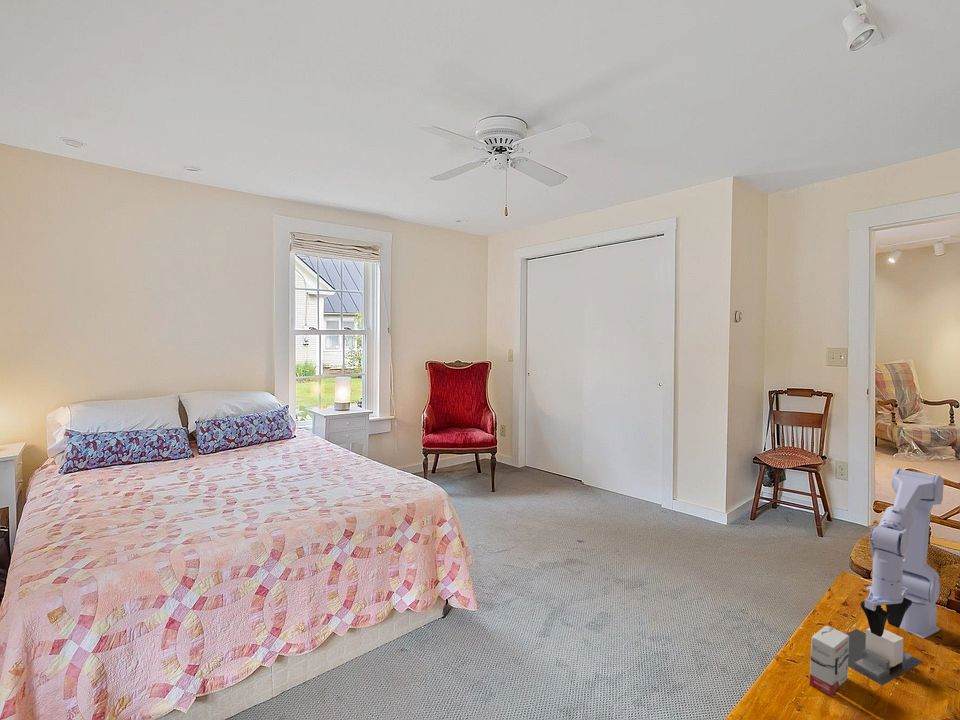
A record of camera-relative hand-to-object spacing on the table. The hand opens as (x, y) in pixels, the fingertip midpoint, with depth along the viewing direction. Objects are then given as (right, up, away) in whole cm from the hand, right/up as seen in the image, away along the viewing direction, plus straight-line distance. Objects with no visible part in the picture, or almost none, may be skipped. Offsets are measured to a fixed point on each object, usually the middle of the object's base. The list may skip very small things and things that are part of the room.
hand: (885, 629), depth 124 cm
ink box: (-17, -10, -5) cm, 21 cm away
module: (0, -7, +1) cm, 7 cm away
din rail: (-2, -9, +4) cm, 10 cm away
